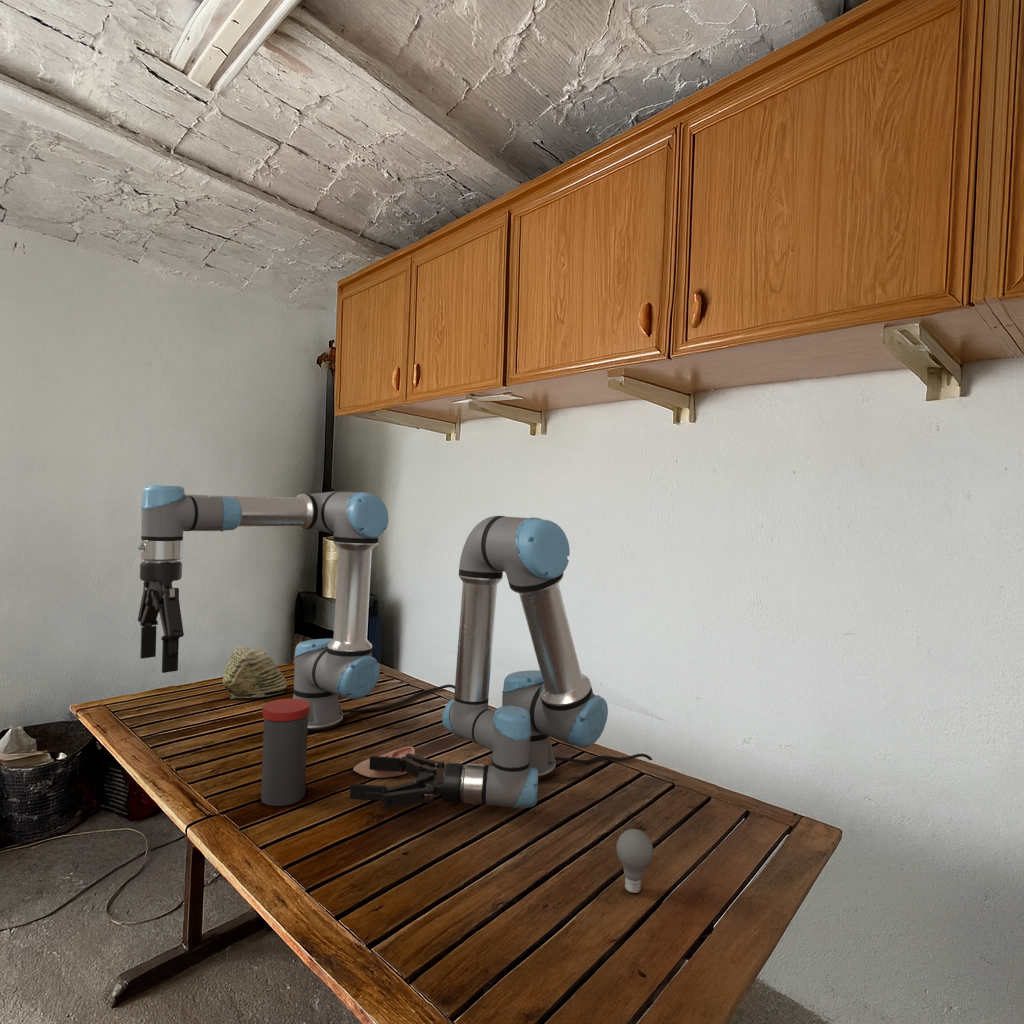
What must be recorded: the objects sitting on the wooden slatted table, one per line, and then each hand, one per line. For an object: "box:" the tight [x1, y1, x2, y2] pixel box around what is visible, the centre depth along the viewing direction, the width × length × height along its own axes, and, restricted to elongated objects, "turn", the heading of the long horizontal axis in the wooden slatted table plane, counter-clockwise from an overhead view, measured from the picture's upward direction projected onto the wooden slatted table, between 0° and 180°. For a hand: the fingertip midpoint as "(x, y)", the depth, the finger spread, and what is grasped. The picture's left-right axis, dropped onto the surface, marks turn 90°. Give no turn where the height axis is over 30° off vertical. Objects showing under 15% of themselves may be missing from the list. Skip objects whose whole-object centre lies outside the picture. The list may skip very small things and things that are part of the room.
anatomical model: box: [352, 746, 416, 779], centre depth 149 cm, size 13×4×12 cm
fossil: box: [222, 646, 288, 699], centre depth 198 cm, size 9×18×15 cm, turn 132°
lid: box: [262, 697, 310, 721], centre depth 133 cm, size 9×9×2 cm
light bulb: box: [615, 828, 654, 894], centre depth 106 cm, size 6×6×10 cm
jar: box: [260, 715, 308, 807], centre depth 133 cm, size 9×9×19 cm
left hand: (158, 664), depth 130 cm, fingers open, 13 cm apart
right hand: (360, 776), depth 131 cm, fingers open, 13 cm apart
